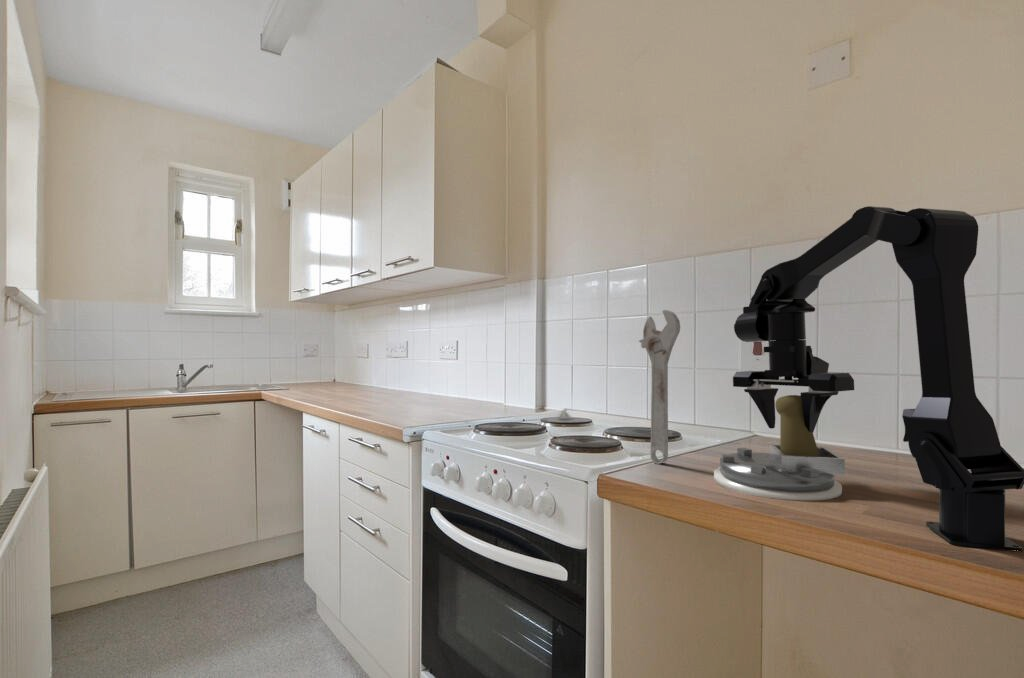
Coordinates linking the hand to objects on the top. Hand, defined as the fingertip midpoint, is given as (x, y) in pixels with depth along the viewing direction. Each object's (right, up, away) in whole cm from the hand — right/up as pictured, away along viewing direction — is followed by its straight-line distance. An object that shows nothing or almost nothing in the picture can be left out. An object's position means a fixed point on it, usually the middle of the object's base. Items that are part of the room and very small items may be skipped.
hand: (790, 430), depth 86 cm
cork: (0, -5, -2) cm, 5 cm away
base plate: (-4, -9, -2) cm, 10 cm away
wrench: (-19, -9, +12) cm, 24 cm away
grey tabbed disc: (-4, -7, -2) cm, 8 cm away
